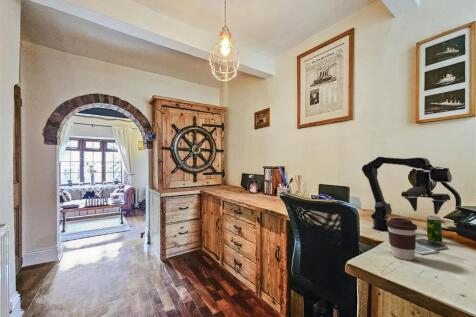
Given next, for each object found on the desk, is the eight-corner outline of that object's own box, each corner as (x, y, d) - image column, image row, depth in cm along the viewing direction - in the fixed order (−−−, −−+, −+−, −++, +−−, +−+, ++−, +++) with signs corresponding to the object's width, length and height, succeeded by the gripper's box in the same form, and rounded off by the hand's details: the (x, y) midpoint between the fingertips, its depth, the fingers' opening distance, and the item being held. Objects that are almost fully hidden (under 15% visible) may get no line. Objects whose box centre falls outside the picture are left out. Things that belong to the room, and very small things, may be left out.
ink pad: (411, 242, 98) (411, 239, 98) (422, 241, 100) (422, 237, 100) (435, 250, 89) (435, 246, 89) (447, 248, 90) (447, 245, 91)
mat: (397, 246, 94) (397, 245, 94) (413, 244, 96) (413, 243, 96) (421, 255, 84) (421, 253, 84) (439, 252, 86) (439, 251, 86)
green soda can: (434, 239, 102) (432, 215, 103) (446, 243, 97) (444, 217, 98) (424, 239, 102) (423, 215, 103) (436, 243, 97) (434, 218, 97)
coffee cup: (406, 263, 77) (404, 223, 77) (381, 253, 86) (380, 217, 87) (425, 260, 79) (423, 221, 80) (399, 250, 89) (397, 216, 90)
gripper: (392, 181, 111) (394, 210, 110) (432, 183, 93) (435, 217, 92) (407, 181, 114) (410, 209, 112) (449, 182, 96) (452, 215, 94)
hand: (425, 212), depth 103 cm, fingers open, 9 cm apart
